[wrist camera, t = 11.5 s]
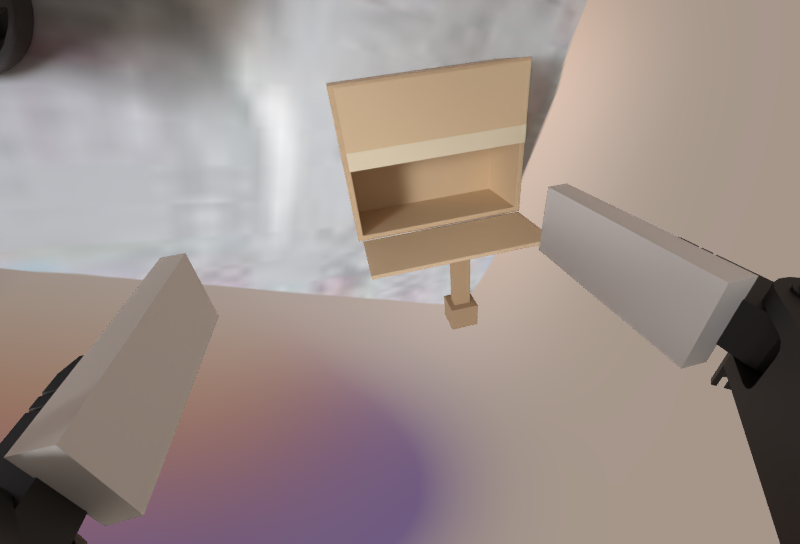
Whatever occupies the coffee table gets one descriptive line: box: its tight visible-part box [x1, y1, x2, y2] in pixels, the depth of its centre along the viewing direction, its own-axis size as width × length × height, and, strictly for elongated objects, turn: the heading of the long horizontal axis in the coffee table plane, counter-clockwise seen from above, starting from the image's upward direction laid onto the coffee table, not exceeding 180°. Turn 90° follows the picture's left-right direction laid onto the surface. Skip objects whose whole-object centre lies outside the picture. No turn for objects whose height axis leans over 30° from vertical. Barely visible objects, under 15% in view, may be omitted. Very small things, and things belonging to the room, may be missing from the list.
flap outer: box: [364, 212, 542, 329], centre depth 39 cm, size 19×7×10 cm
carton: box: [326, 57, 532, 242], centre depth 38 cm, size 20×16×9 cm
